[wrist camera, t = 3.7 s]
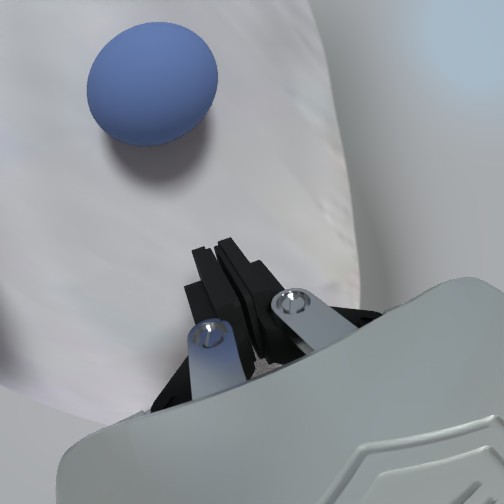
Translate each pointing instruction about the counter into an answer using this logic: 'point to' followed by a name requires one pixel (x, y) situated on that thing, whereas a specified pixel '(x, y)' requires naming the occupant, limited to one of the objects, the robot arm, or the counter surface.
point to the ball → (152, 84)
